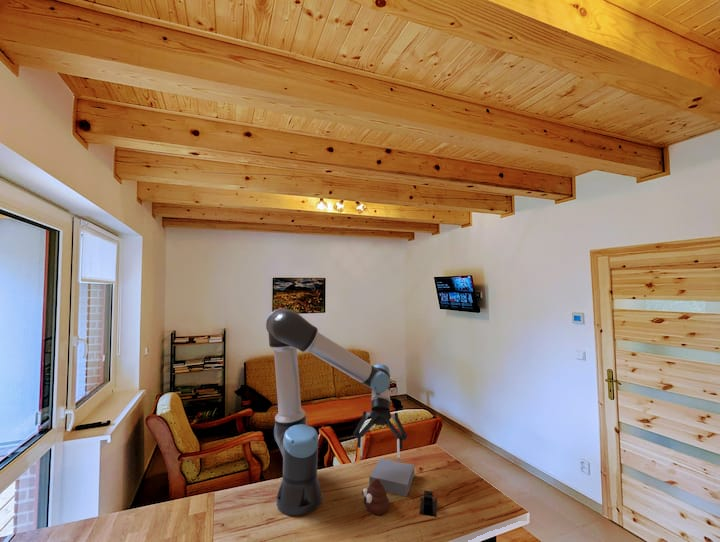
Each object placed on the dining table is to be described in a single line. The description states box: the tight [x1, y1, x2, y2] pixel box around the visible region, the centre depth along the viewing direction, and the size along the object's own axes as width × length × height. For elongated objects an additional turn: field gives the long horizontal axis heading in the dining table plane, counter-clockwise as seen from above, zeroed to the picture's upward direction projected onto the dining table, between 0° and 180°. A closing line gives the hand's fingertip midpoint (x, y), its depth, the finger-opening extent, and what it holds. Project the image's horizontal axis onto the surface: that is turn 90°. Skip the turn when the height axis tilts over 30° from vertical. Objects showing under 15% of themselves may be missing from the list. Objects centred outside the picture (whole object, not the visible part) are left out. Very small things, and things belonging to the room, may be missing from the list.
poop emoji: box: [361, 479, 390, 516], centre depth 112 cm, size 10×8×9 cm
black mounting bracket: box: [419, 490, 438, 518], centre depth 112 cm, size 12×7×5 cm, turn 166°
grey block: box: [368, 457, 415, 497], centre depth 126 cm, size 14×14×4 cm
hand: (379, 458), depth 120 cm, fingers open, 13 cm apart
